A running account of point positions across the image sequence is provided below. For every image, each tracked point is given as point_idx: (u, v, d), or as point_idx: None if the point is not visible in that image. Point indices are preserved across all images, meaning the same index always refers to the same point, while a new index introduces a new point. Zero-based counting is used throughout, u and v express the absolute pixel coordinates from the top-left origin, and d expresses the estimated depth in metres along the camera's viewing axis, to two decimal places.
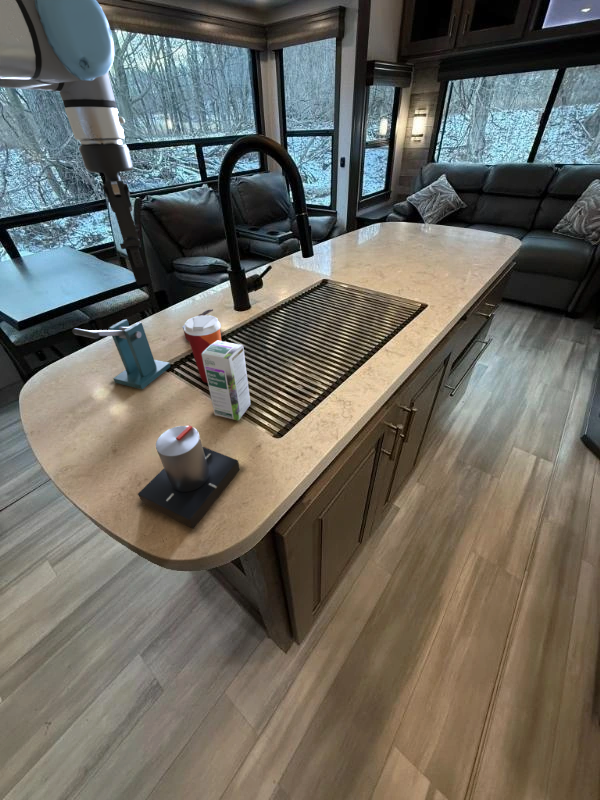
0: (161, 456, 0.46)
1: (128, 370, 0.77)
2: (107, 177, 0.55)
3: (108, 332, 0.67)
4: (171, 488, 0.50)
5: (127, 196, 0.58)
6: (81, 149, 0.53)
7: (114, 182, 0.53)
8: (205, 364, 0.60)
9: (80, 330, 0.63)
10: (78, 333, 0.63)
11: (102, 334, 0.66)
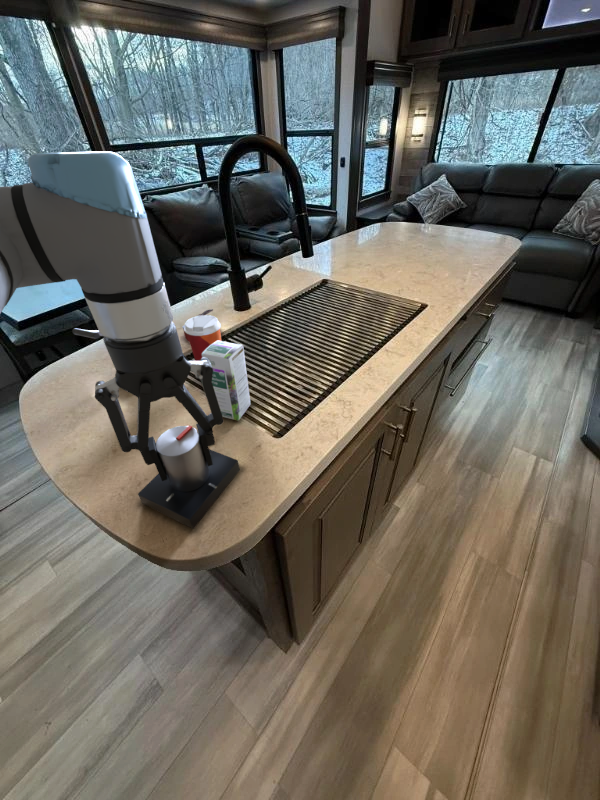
0: (161, 456, 0.46)
1: None
2: (183, 358, 0.40)
3: None
4: (171, 488, 0.50)
5: None
6: (160, 343, 0.35)
7: None
8: None
9: (80, 330, 0.63)
10: (78, 333, 0.63)
11: None
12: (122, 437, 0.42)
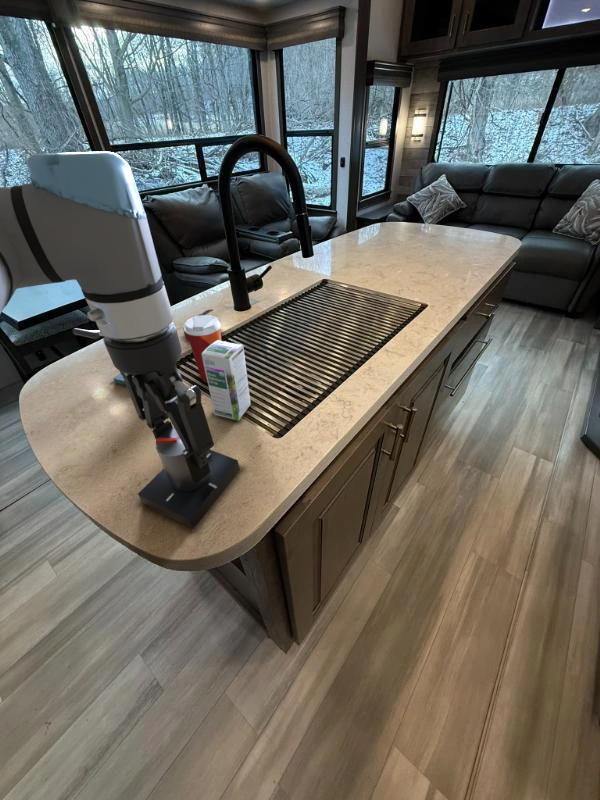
0: None
1: None
2: None
3: None
4: (171, 488, 0.50)
5: (137, 385, 0.41)
6: None
7: None
8: (205, 364, 0.60)
9: (80, 330, 0.63)
10: (78, 333, 0.63)
11: None
12: None
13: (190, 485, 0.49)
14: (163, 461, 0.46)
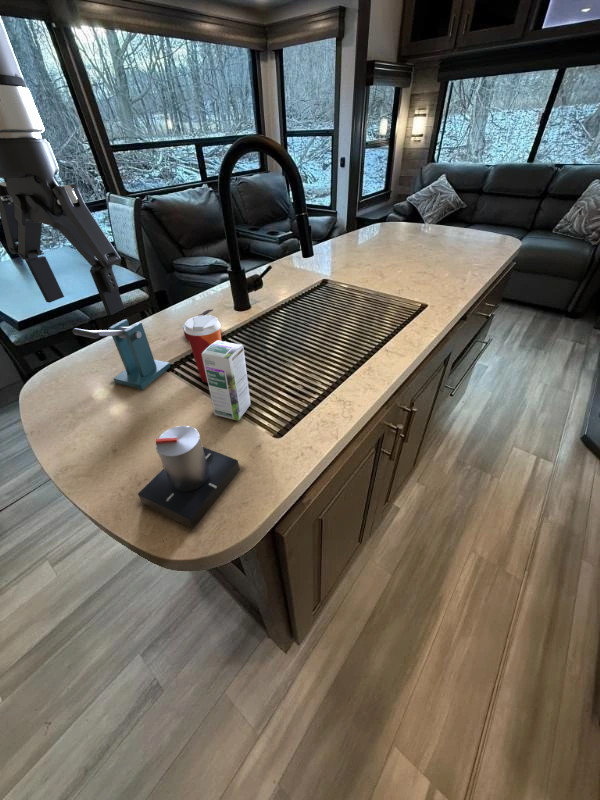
0: (199, 444, 0.47)
1: (128, 370, 0.77)
2: None
3: (108, 332, 0.67)
4: (171, 488, 0.50)
5: None
6: None
7: None
8: (205, 364, 0.60)
9: (80, 330, 0.63)
10: (78, 333, 0.63)
11: (102, 334, 0.66)
12: None
13: (190, 485, 0.49)
14: (163, 461, 0.46)
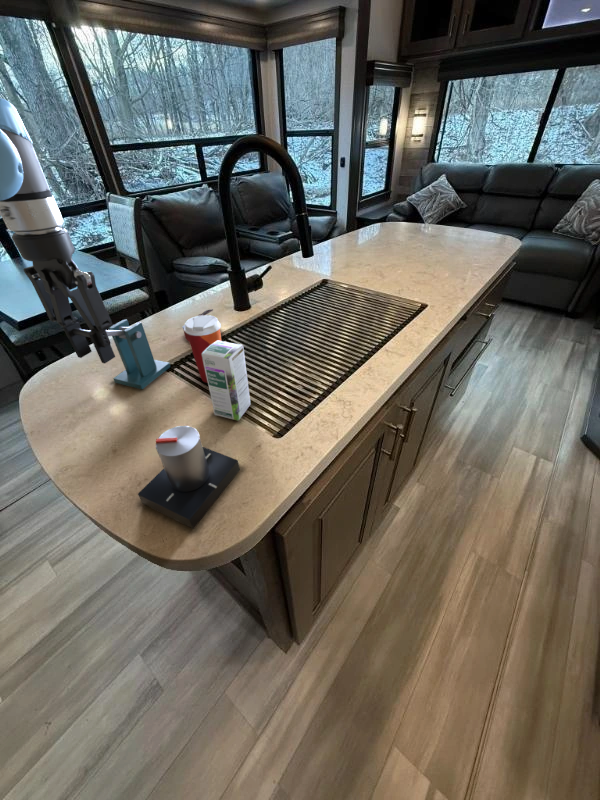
0: (199, 444, 0.47)
1: (128, 370, 0.77)
2: None
3: (108, 332, 0.67)
4: (171, 488, 0.50)
5: None
6: None
7: None
8: (205, 364, 0.60)
9: (80, 330, 0.63)
10: (78, 333, 0.63)
11: None
12: None
13: (190, 485, 0.49)
14: (163, 461, 0.46)
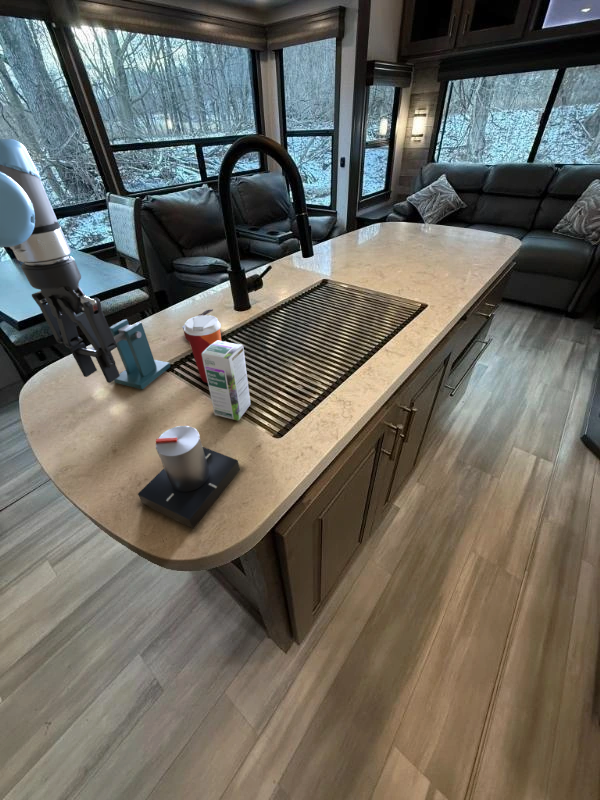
0: (199, 444, 0.47)
1: (128, 370, 0.77)
2: None
3: None
4: (171, 488, 0.50)
5: None
6: None
7: None
8: (205, 364, 0.60)
9: (84, 351, 0.65)
10: (83, 353, 0.65)
11: None
12: None
13: (190, 485, 0.49)
14: (163, 461, 0.46)
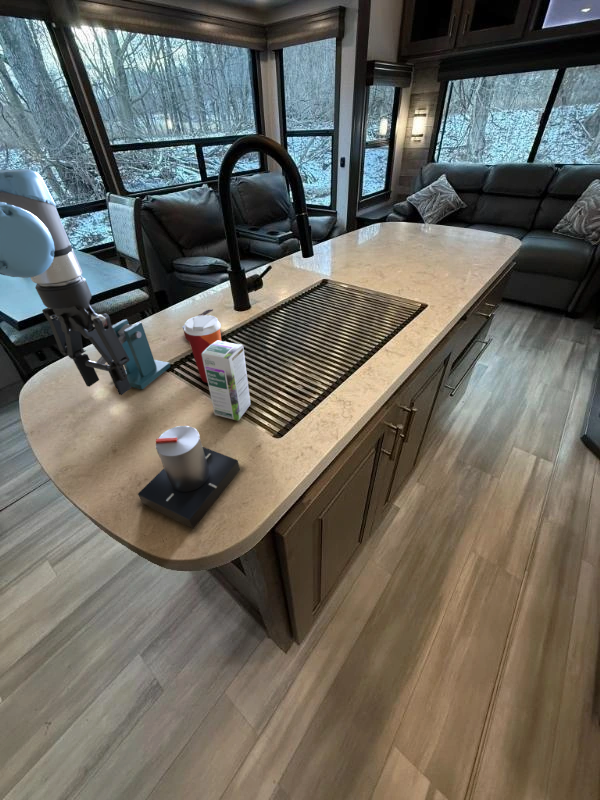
0: (199, 444, 0.47)
1: (128, 370, 0.77)
2: None
3: None
4: (171, 488, 0.50)
5: None
6: None
7: None
8: (205, 364, 0.60)
9: (92, 364, 0.67)
10: (92, 367, 0.67)
11: None
12: None
13: (190, 485, 0.49)
14: (163, 461, 0.46)
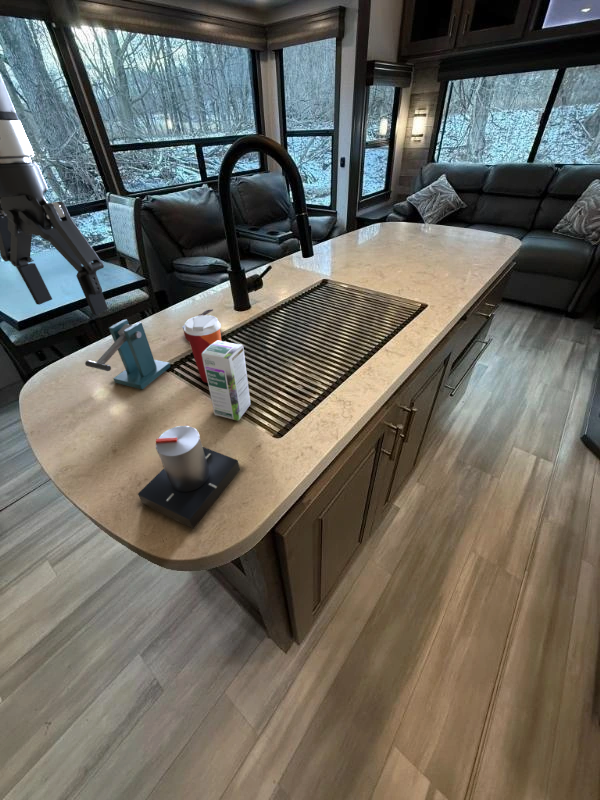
0: (199, 444, 0.47)
1: (128, 370, 0.77)
2: None
3: (113, 350, 0.69)
4: (171, 488, 0.50)
5: None
6: None
7: None
8: (205, 364, 0.60)
9: (92, 364, 0.67)
10: (92, 367, 0.67)
11: (110, 355, 0.69)
12: None
13: (190, 485, 0.49)
14: (163, 461, 0.46)
